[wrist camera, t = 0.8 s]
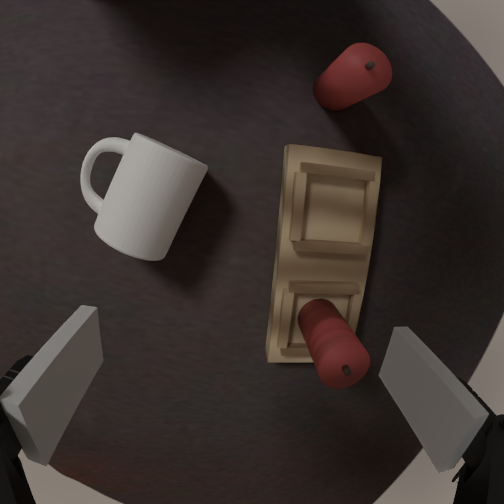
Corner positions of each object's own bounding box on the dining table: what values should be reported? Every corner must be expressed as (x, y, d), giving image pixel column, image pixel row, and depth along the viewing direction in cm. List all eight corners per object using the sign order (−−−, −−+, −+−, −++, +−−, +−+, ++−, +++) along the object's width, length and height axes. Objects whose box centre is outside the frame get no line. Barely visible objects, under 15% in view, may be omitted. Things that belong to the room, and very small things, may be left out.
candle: (314, 69, 31) (345, 34, 20) (353, 77, 31) (395, 47, 21) (312, 107, 32) (344, 83, 22) (351, 114, 32) (396, 95, 22)
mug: (211, 167, 33) (205, 166, 25) (171, 249, 35) (155, 271, 27) (117, 122, 31) (87, 111, 23) (82, 202, 33) (47, 212, 25)
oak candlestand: (284, 146, 33) (317, 131, 20) (370, 157, 34) (441, 156, 20) (265, 349, 39) (279, 426, 25) (341, 348, 40) (380, 418, 26)
